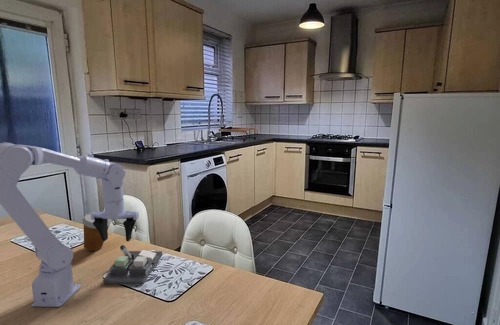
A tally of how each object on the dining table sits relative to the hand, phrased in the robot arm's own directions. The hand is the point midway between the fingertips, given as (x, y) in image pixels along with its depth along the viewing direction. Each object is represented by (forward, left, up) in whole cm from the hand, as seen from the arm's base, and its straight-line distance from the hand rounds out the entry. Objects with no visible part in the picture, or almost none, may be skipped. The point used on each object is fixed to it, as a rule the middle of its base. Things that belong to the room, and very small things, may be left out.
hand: (117, 240), depth 94 cm
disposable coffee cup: (+14, +16, -9) cm, 23 cm away
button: (-3, -3, -7) cm, 8 cm away
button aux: (-3, -9, -7) cm, 11 cm away
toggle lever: (+3, -3, -8) cm, 9 cm away
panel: (0, -6, -10) cm, 11 cm away
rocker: (+3, -9, -7) cm, 11 cm away
